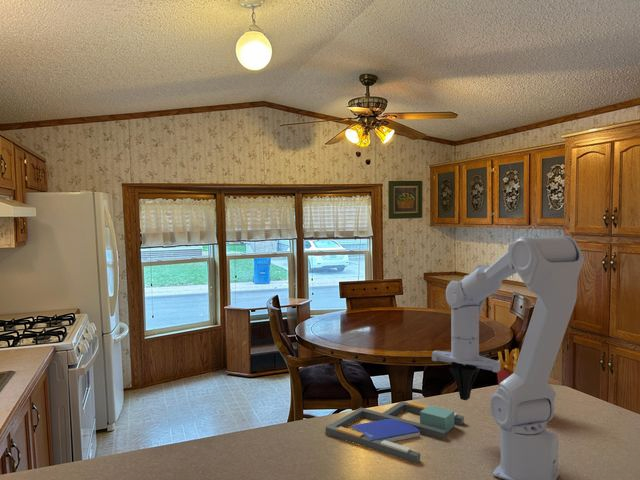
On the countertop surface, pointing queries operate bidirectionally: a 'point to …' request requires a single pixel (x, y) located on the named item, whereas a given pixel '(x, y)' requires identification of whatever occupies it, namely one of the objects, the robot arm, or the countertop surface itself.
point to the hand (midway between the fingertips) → (465, 398)
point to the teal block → (437, 417)
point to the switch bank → (416, 410)
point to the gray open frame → (384, 446)
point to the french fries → (507, 364)
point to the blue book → (386, 430)
